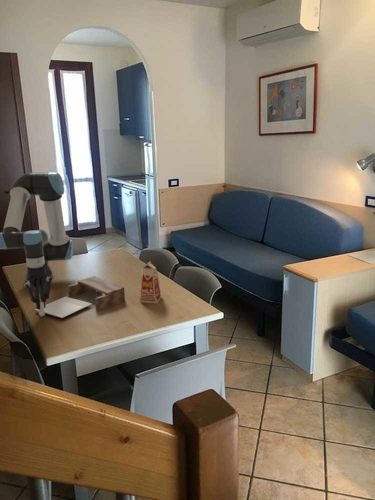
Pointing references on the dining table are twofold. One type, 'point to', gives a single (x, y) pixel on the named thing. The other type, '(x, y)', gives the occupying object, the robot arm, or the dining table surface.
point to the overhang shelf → (99, 291)
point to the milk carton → (150, 285)
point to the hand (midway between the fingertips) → (42, 315)
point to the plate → (64, 307)
